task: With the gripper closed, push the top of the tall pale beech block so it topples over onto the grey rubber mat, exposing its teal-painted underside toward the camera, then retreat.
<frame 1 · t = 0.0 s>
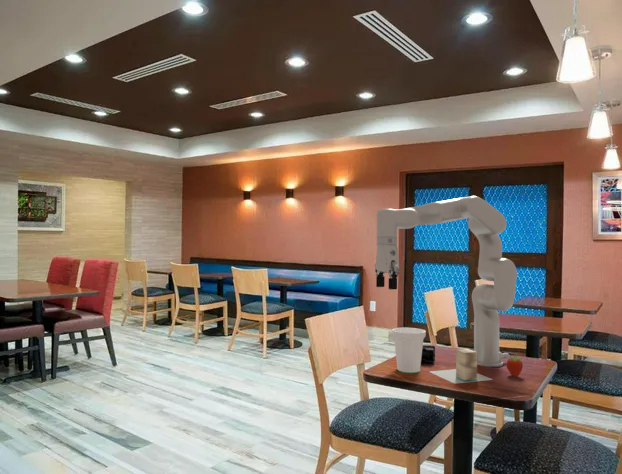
hand: (386, 288, 179), 31 cm above the table, fingers open, 9 cm apart
beech block: (466, 379, 169), resting on mat
fruit: (514, 377, 174), on the table
black box: (422, 363, 194), on the table
mat: (460, 376, 174), on the table
cup: (408, 371, 180), on the table
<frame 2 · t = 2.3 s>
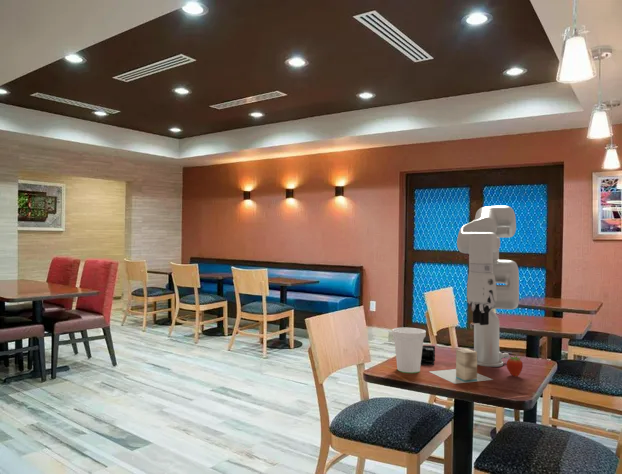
hand: (480, 323, 162), 21 cm above the table, fingers closed
nothing on the table moved.
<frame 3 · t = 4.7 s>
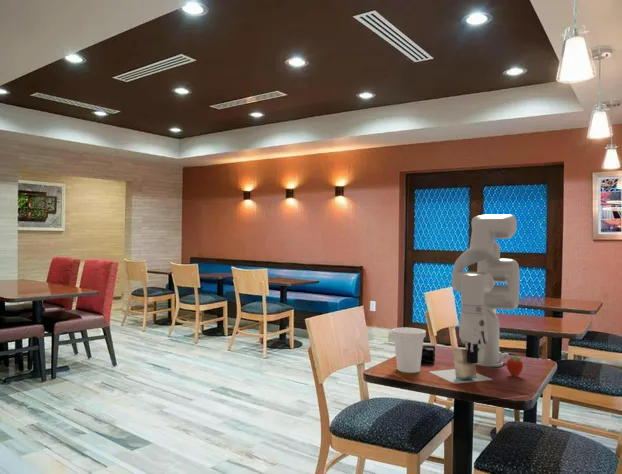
hand: (472, 362, 166), 7 cm above the table, fingers closed
beech block: (466, 378, 169), point 1 cm above the table, tilted 11°, touching gripper, mat
everything else where it was.
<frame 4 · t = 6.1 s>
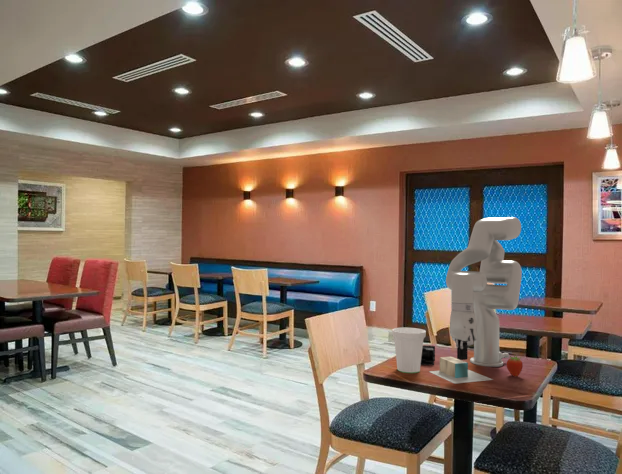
hand: (462, 359, 171), 7 cm above the table, fingers closed
beech block: (461, 370, 171), point 3 cm above the table, tilted 90°, touching mat
everything else where it was.
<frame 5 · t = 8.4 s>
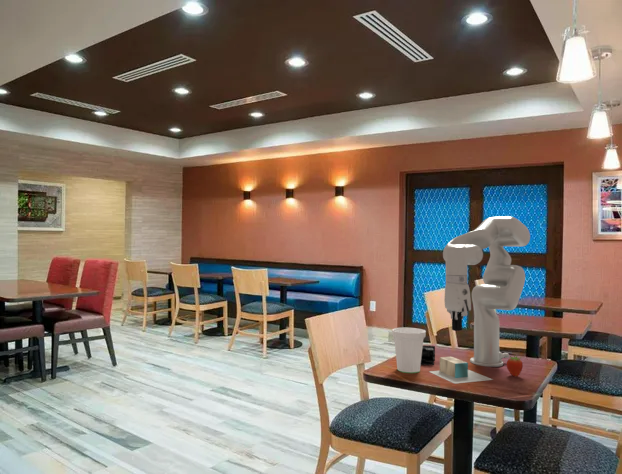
hand: (457, 330, 175), 17 cm above the table, fingers closed
nothing on the table moved.
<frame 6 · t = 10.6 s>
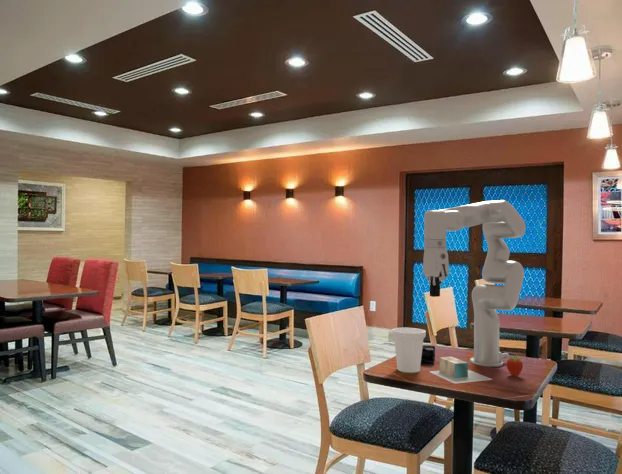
hand: (434, 296, 172), 29 cm above the table, fingers closed
nothing on the table moved.
at the end: beech block tilted 90°; beech block inside the target area on the mat (2.7 cm from its centre), point 2.9 cm above the mat's base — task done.
